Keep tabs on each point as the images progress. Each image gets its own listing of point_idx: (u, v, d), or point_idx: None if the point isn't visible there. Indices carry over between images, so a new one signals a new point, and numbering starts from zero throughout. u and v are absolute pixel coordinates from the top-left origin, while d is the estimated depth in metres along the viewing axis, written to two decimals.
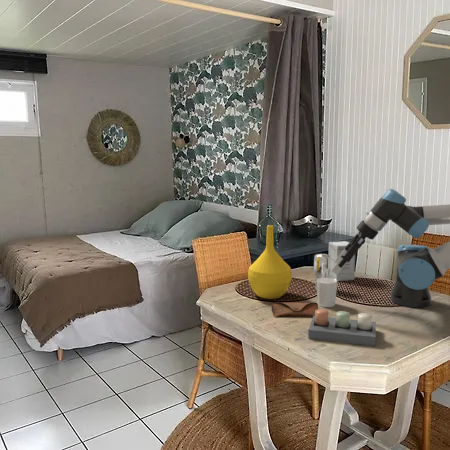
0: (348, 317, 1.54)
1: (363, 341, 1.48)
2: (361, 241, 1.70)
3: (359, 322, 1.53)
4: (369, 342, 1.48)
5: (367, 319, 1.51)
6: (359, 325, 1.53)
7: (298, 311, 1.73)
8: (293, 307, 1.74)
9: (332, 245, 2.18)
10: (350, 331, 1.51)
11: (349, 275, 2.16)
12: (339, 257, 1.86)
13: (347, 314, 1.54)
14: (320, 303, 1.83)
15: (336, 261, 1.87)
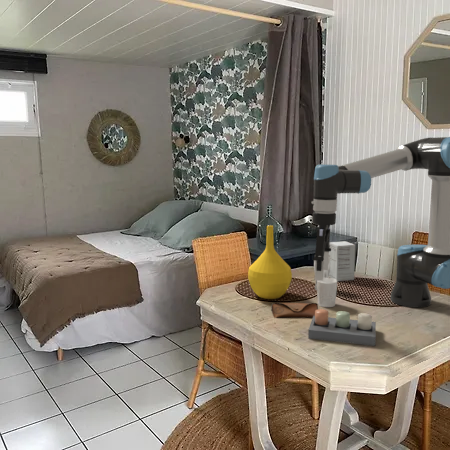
0: (348, 317, 1.54)
1: (363, 341, 1.48)
2: (322, 232, 1.47)
3: (359, 322, 1.53)
4: (369, 342, 1.48)
5: (367, 319, 1.51)
6: (359, 325, 1.53)
7: (298, 311, 1.72)
8: (293, 308, 1.74)
9: (332, 245, 2.18)
10: (350, 331, 1.51)
11: (349, 275, 2.16)
12: None
13: (347, 314, 1.54)
14: (320, 303, 1.83)
15: None
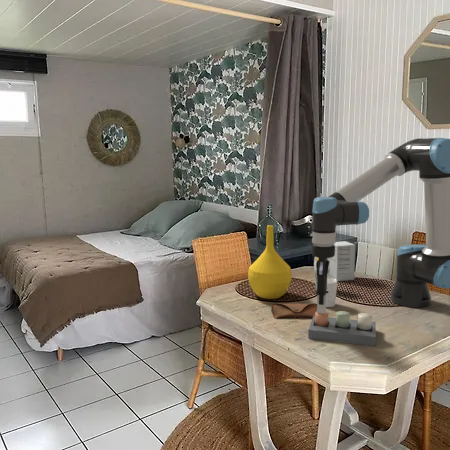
0: (348, 317, 1.54)
1: (363, 341, 1.48)
2: (321, 273, 1.49)
3: (359, 322, 1.53)
4: (369, 342, 1.48)
5: (367, 319, 1.51)
6: (359, 325, 1.53)
7: (298, 312, 1.72)
8: (293, 308, 1.73)
9: None
10: (350, 331, 1.51)
11: (349, 275, 2.16)
12: None
13: (347, 314, 1.54)
14: None
15: None
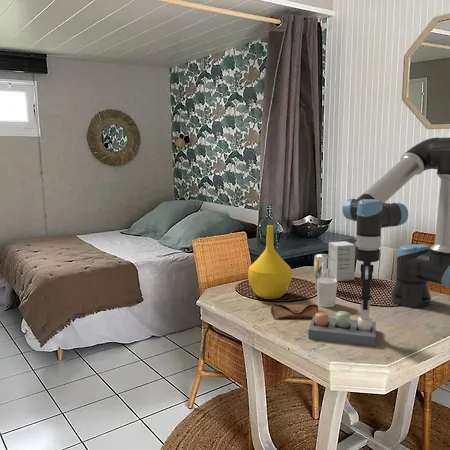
0: (348, 317, 1.54)
1: (363, 341, 1.48)
2: (367, 277, 1.45)
3: (359, 325, 1.53)
4: (369, 342, 1.48)
5: (367, 322, 1.51)
6: (359, 328, 1.53)
7: (298, 313, 1.71)
8: (293, 309, 1.72)
9: (332, 245, 2.18)
10: (350, 331, 1.51)
11: (349, 275, 2.16)
12: None
13: (347, 314, 1.54)
14: (320, 303, 1.83)
15: None
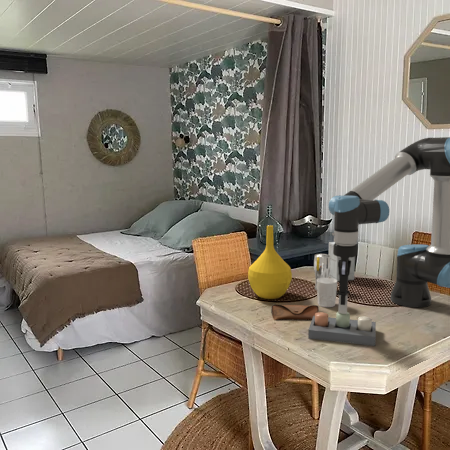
0: (348, 317, 1.54)
1: (363, 341, 1.48)
2: (344, 272, 1.47)
3: (359, 325, 1.53)
4: (369, 342, 1.48)
5: (367, 322, 1.51)
6: (359, 328, 1.53)
7: (298, 314, 1.70)
8: (293, 310, 1.71)
9: (332, 245, 2.18)
10: (350, 331, 1.51)
11: (349, 275, 2.16)
12: None
13: (347, 314, 1.54)
14: (320, 303, 1.83)
15: None
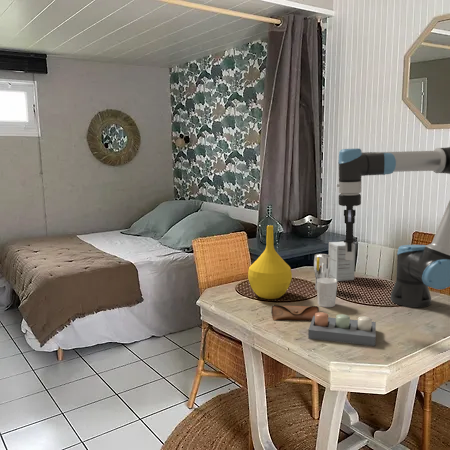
0: (348, 320, 1.54)
1: (363, 341, 1.48)
2: (350, 219, 1.57)
3: (359, 325, 1.53)
4: (369, 342, 1.48)
5: (367, 322, 1.51)
6: (359, 328, 1.53)
7: (298, 314, 1.69)
8: (293, 310, 1.71)
9: (332, 245, 2.18)
10: (350, 331, 1.51)
11: (349, 275, 2.16)
12: None
13: (347, 317, 1.55)
14: (320, 303, 1.83)
15: None
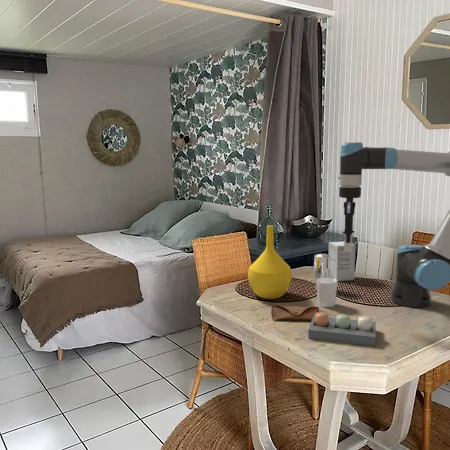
0: (348, 320, 1.54)
1: (363, 341, 1.48)
2: (349, 211, 1.62)
3: (359, 325, 1.53)
4: (369, 342, 1.48)
5: (367, 322, 1.51)
6: (359, 328, 1.53)
7: (298, 315, 1.69)
8: (293, 311, 1.70)
9: (332, 245, 2.18)
10: (350, 331, 1.51)
11: (349, 275, 2.16)
12: None
13: (347, 317, 1.55)
14: (320, 303, 1.83)
15: None
